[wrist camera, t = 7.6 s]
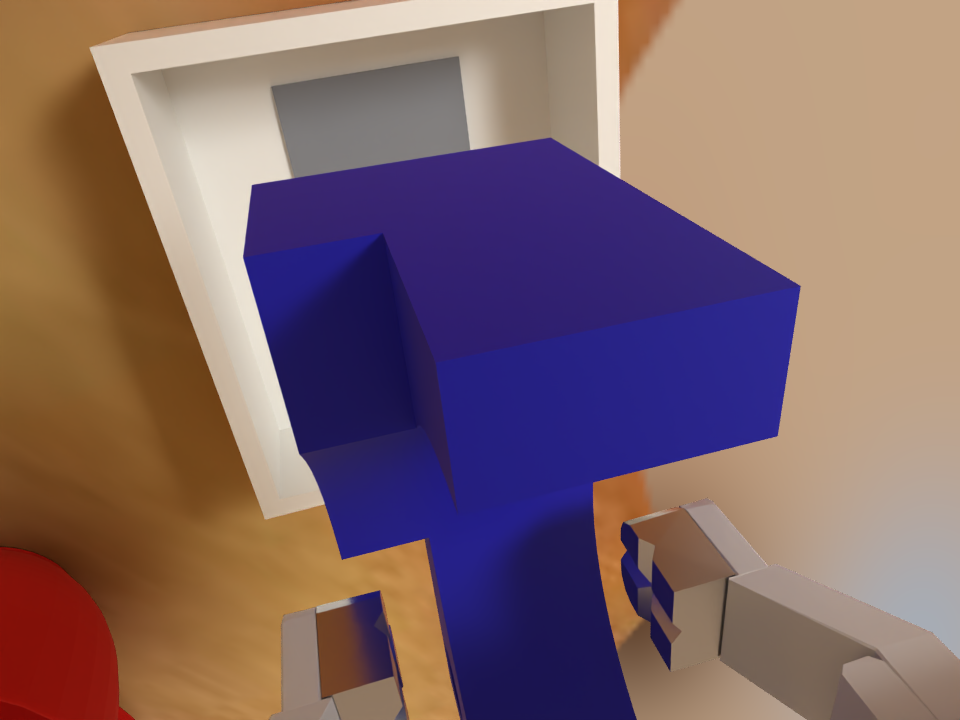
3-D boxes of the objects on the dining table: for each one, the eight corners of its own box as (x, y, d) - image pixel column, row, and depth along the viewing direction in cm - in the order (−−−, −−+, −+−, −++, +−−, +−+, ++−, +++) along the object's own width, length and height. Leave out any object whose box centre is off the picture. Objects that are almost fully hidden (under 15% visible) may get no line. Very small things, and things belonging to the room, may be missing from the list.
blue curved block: (251, 184, 10) (223, 407, 5) (550, 137, 11) (800, 285, 6) (387, 698, 16) (439, 1037, 11) (571, 645, 17) (699, 938, 12)
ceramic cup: (104, 742, 40) (57, 948, 31) (-232, 624, 31) (-422, 865, 23) (262, 606, 38) (258, 787, 30) (-49, 442, 29) (-181, 630, 21)
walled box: (552, -29, 27) (617, -30, 21) (574, 362, 35) (623, 426, 30) (128, 32, 24) (89, 47, 19) (266, 436, 33) (265, 519, 28)
